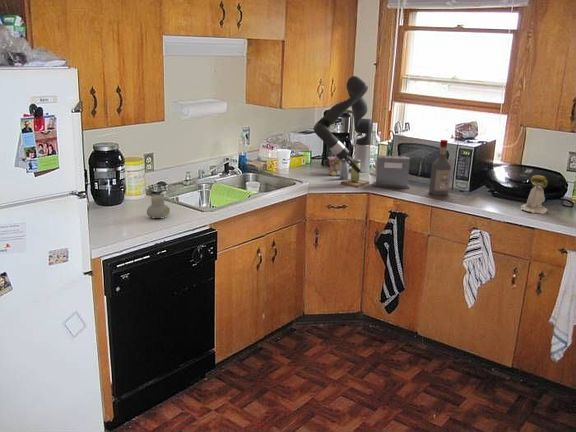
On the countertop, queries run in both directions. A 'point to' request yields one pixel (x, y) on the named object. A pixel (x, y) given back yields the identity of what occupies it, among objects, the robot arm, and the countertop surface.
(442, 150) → the liquor
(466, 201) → the countertop surface
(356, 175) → the green cartridge
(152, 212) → the grey brown bulbous piece
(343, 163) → the cylinder
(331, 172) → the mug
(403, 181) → the box
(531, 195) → the beige tapered lump
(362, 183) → the pad
